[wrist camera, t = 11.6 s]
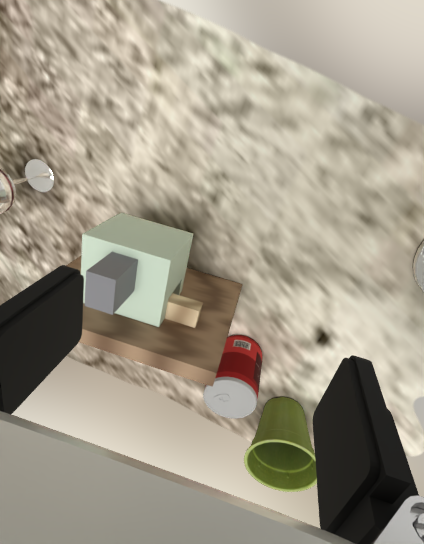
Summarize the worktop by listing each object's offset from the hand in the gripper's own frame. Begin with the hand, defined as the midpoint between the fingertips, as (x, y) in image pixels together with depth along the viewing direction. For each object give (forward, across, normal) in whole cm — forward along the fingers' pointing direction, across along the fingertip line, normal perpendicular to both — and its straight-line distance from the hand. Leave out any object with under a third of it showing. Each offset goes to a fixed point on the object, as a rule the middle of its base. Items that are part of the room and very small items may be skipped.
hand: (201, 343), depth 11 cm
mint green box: (+29, +12, +13) cm, 34 cm away
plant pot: (+36, -15, +40) cm, 56 cm away
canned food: (+36, -4, +30) cm, 47 cm away
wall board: (+36, +11, +20) cm, 43 cm away
